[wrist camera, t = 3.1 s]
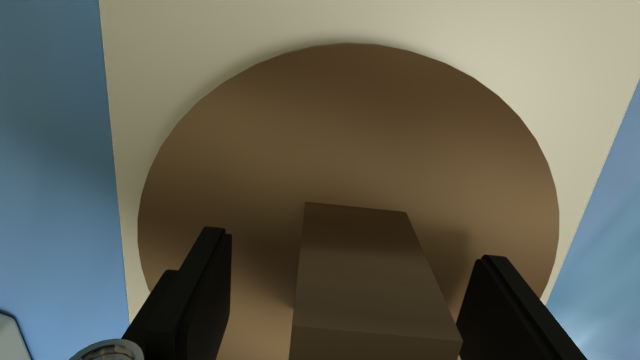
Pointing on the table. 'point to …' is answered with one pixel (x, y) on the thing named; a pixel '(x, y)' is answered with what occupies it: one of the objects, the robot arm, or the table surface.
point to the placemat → (388, 30)
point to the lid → (350, 201)
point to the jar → (11, 340)
